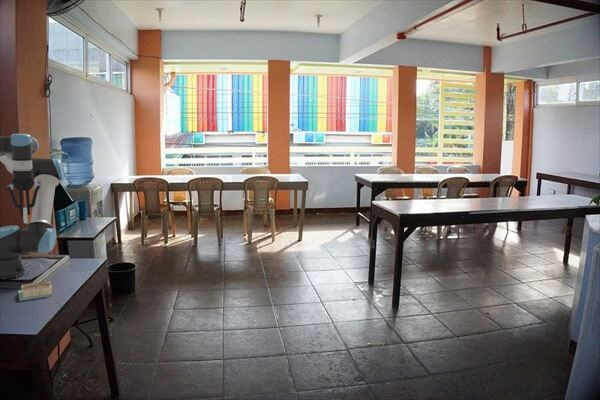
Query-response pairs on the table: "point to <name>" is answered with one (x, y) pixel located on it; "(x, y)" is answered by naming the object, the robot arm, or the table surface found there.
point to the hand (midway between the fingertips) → (25, 222)
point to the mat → (30, 297)
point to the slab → (36, 289)
